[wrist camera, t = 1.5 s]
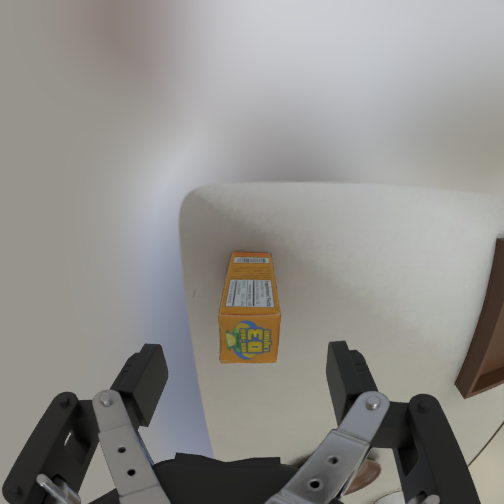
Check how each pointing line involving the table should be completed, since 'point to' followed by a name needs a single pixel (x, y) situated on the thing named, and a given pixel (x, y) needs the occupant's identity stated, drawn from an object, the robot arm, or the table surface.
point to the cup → (392, 499)
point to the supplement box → (249, 310)
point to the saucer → (364, 476)
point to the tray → (487, 337)
